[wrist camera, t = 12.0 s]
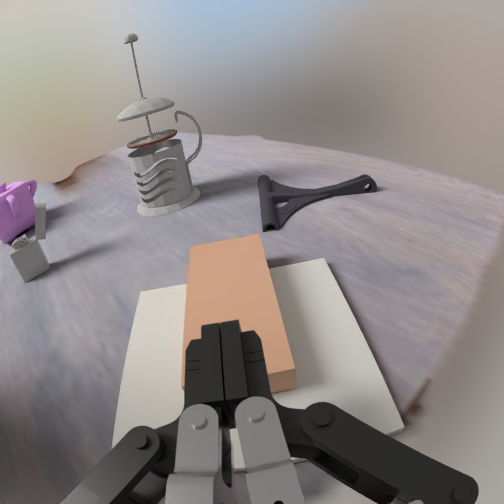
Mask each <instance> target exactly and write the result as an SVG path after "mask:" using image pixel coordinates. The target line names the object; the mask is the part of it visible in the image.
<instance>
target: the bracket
mask: <svg viewBox="0 0 504 504" xmlns="http://www.w3.org/2000/svg"><path fill="white" fill-rule="evenodd" d="M258 184H259V195H260V206H261V217H262V228H263V232H266V228H267V226H269V225H273V226H275V229H276V230H278V228H281V227H282V226H283V225H284V223H285V222H286V220H287V219H288V218H289V217H290V216H291V215H292V214H293V213H295V212H296V211H297V210H299V209H300V208H302V207H303V206H305V205H307V204H310V203H312V202H315V201H317V200H321V199H324V198H327V197H333V196H342V195H352V194H361V193H372V192H376V190H377V185H376V183H375V181H374V180H373V179H372V178H371V177H370V176H368V175H366V174H364V175H361V176H359V177H357V178H354V179H351V180H348V181H345V182H342V183H339V184H336V185H332V186H327V187H323V188H318V189H300V188H294V187H289V186H285V185H281V184H279V183H277V182H275V181H273V180H271V181H270V179H269V177H268V176H266V175H261V176H260V177H259V179H258ZM367 184H369V187H368V188H366V189H364V187H365V185H367ZM369 189H370V190H369ZM365 190H368V191H365ZM283 202H288V203H287V204H286V205H284V206H282V207H279V208H275V207H274V204H277V203H283Z"/></svg>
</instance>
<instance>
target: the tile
mask: <svg viewBox="0 0 504 504" xmlns="http://www.w3.org/2000/svg"><path fill="white" fill-rule="evenodd" d="M237 319H239V322H240V326H241V330H242V332H245V331H251V330H254V331H255V332H256V333H257V334H258V336H259V337H260V338H261V341H262V347H263V352H264V358H265V363H266V368H267V374H268V379H269V384H270V390H271V393H274V392H280V391H285V390H289V389H294V388H297V386H296V373H295V366H294V362H293V358H292V355H291V351H290V347H289V343H288V339H287V336H286V332H285V328H284V324H283V320H282V317H281V313H280V309H279V305H278V302H277V298H276V294H275V290H274V287H273V283H272V279H271V276H270V272H269V268H268V265H267V261H266V257H265V253H264V250H263V246H262V242H261V239H260V235H259V234H255V235H249V236H244V237H239V238H233V239H228V240H223V241H218V242H212V243H207V244H202V245H197V246H192V247H190V255H189V266H188V278H187V290H186V303H185V318H184V334H183V353H182V376H181V387H182V389H183V391H184V383H185V351H186V349H187V347H188V345H189V343H190V341H191V340H193V339H200V338H201V326H202V325H206V324H212V323H219V322H220V324H221V322H225V321H231V320H237Z"/></svg>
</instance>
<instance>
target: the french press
mask: <svg viewBox="0 0 504 504" xmlns="http://www.w3.org/2000/svg"><path fill="white" fill-rule="evenodd" d="M137 40H138V37H137V35H135V34H129V35H127V36H126V37H125V38H124V43H125V44H127V43H131V47H132V53H133V58H134V63H135V68H136V73H137V78H138V83H139V87H140V92H141V97H142V98H141V99H139V101H137V102H135V103H134V104H132V105H130V106H128V107H127V108H126V109H125V110H123V111H122V112H121V114H120V115H119V116H118V117H117V120H118V121H119V122H123V121H127V120H131V119H135V118H139V117H142V116H146V119H147V123H148V127H149V131H150V135H149V134H148V136H147V135H146V136H143V137H140V138H138V139H137V140H136V139H135V140H133V141H131V142H129V144H127V147H128V148H131V149H137V150H135V151H133V152H131V153H130V154H129V155H128V158H129V162H130V165H131V169H132V172H133V176H134V179H135V183H136V186H137V189H138V193H139V196H140V199H141V202H140V204H139V206H138V208H137V212H138V214H140V215H142V216H160V215H165V214H169V213H172V212H175V211H178V210H181V209H183V208H185V207H187V206H189V205H191V204H192V203H194V202H195V201H196V200H197V199H198V198H199V197H200V193H201V192H200V191H199V190H198V188H196V187H194V186H193V185H192V181H191V176H190V172H189V168H188V164H189V163H190V162H191V161H192V160H193V159H195V158H196V156H197V155H198V153H199V152H200V149H201V146H202V134H201V130H200V127H199V125H198V123H197V122H196V120H195V119H194V118H193V117H192V116H191V115H189V114H188V113H185V112H182V111H177V112H175V119H176V122H178V118H177V114H182V115H186V116H187V117H189V118H191V119H192V120H193V121H194V123H195V124H196V126H197V128H198V131H199V144H198V148H197V149H196V151H195V152H194V154H193V155H191V156H190V157H189V158H188V159H187V161H185V156H184V152H183V147H182V143H181V140H180V139H171V140H168V139H170V138H172V137H174V136H175V135H176V134H177V131H176V130H174V129H173V130H170V129H169V130H170V131H169V130H168V131H167V130H166V131H164V132H163V131H162V132H159V133H157V132H156V133H154V134H153V133H151V129H150V125H149V121H148V117H147V115H149V114H152V113H156V112H159V111H162V110H165V109H168V108H170V107H173V106H174V102H173V101H171V100H168V99H165V98H145V97H144V98H143V94H142V89H141V85H140V80H139V75H138V70H137V65H136V60H135V56H134V49H133V44H132V42H135V41H137ZM163 147H171V148H169V149H166V150H163V151H161V152H157V153H155V152H156V151H157V150H159V149H161V148H163ZM138 148H139V149H138ZM197 151H198V152H197ZM195 154H196V155H195ZM194 155H195V156H194ZM193 156H194V157H193ZM170 157H172V158H177V160H175V159H166V160H164V161H161V162H160V163H159V164H157V165H156V166H155V167H154V168H153V169H152V170H151V171H150V172H148V173H147V174H146V175H143V176H140V172H143V171H145V170H146V169H148V168H149V167H151V166H152V165H153V164H154V163H155V162H157V161H159V160H161V159H164V158H170ZM192 157H193V158H192ZM191 158H192V159H191ZM189 159H190V160H189ZM188 160H189V161H188ZM177 167H179V168H177ZM159 171H160V172H159ZM168 171H172V172H168ZM157 172H159V173H158V174H157V175H156V176H155V177H154V178H152V179H151V180H150V181H148V182H147V183H144V184H143V183H142V182H144V181H147V180H148V179H149V178H151V177H152V176H153V175H154V174H156V173H157ZM166 172H167V173H166ZM154 185H155V186H154ZM153 186H154V187H153ZM152 187H153V188H152ZM150 188H151V189H150ZM149 189H150V190H149ZM146 190H148V191H146Z"/></svg>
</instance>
